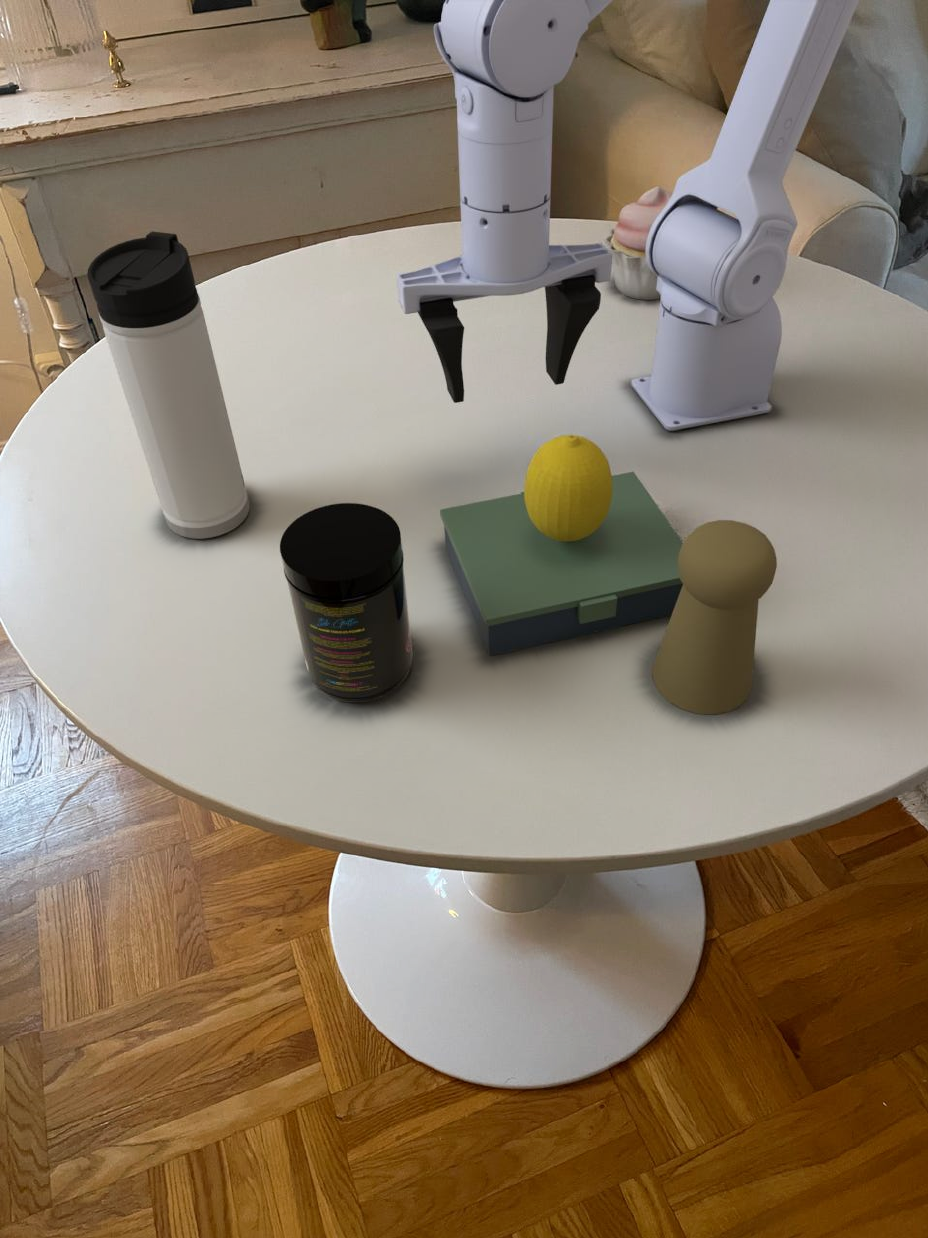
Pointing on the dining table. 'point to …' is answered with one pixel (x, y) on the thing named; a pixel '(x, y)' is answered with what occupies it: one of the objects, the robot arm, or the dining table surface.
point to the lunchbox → (562, 569)
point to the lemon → (568, 488)
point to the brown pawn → (715, 618)
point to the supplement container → (349, 599)
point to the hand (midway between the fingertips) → (505, 386)
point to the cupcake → (636, 245)
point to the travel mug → (171, 382)
